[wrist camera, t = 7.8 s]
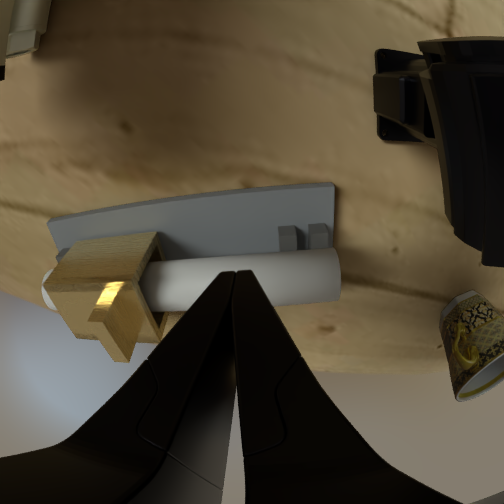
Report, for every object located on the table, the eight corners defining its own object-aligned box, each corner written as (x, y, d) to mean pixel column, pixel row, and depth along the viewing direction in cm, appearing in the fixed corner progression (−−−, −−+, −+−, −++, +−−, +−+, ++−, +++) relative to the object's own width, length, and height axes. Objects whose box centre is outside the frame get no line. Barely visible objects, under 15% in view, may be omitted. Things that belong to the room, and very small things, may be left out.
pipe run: (331, 182, 19) (355, 221, 15) (327, 289, 25) (340, 339, 20) (50, 218, 21) (15, 255, 16) (90, 300, 27) (68, 341, 22)
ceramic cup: (500, 291, 26) (537, 348, 17) (452, 342, 31) (477, 401, 23) (454, 257, 23) (505, 332, 15) (395, 325, 28) (423, 402, 20)
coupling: (157, 231, 21) (116, 311, 14) (176, 289, 24) (152, 371, 17) (76, 241, 21) (25, 308, 14) (100, 292, 25) (65, 361, 18)
